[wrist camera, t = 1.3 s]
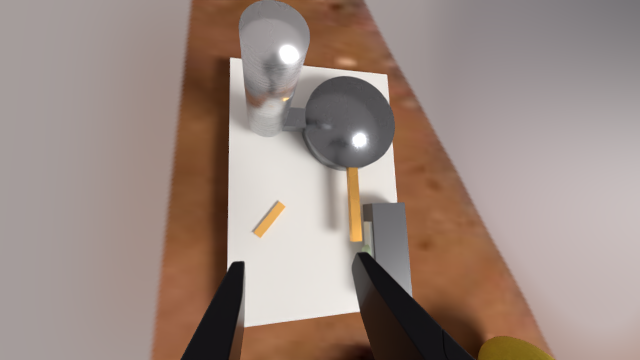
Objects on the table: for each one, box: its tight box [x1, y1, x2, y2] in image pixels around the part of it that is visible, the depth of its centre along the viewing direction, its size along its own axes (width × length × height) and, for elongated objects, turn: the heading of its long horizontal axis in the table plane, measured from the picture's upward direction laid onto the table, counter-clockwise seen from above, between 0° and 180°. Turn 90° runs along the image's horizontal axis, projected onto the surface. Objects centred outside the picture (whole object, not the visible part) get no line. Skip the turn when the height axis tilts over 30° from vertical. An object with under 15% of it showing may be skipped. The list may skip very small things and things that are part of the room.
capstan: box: [239, 0, 395, 242], centre depth 17 cm, size 14×12×11 cm
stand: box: [227, 58, 412, 327], centre depth 22 cm, size 22×15×4 cm
